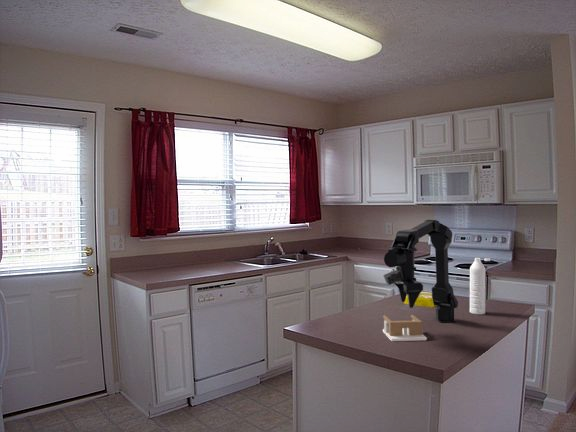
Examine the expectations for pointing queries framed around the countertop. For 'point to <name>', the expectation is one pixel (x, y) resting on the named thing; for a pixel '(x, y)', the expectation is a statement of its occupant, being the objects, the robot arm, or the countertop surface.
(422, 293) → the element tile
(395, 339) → the display stand
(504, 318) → the countertop surface
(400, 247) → the robot arm
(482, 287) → the water bottle
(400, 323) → the wooden c-shaped bracket
